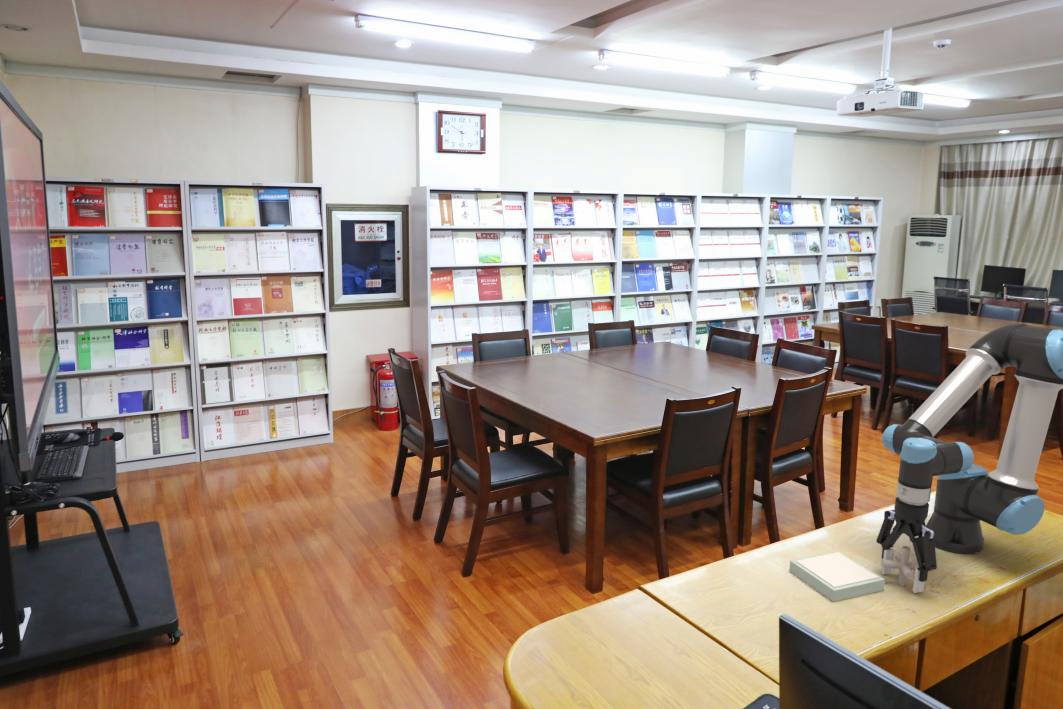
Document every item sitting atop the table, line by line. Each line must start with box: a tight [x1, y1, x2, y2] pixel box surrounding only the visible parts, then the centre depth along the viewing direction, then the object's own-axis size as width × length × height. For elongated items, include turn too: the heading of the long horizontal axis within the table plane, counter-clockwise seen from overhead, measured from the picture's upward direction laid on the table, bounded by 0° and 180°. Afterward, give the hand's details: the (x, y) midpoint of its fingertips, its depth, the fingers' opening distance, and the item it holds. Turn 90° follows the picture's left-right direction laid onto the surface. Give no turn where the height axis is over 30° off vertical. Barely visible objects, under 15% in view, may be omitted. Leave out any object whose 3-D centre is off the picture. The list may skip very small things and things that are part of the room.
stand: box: [788, 550, 886, 603], centre depth 191 cm, size 16×16×3 cm
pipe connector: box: [881, 545, 919, 587], centre depth 189 cm, size 10×10×10 cm
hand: (901, 581), depth 190 cm, fingers closed on pipe connector, 9 cm apart
